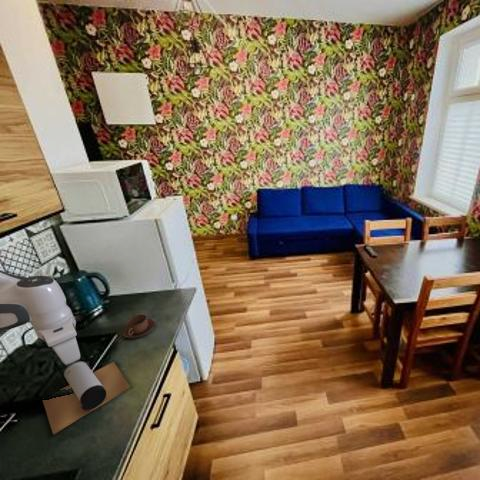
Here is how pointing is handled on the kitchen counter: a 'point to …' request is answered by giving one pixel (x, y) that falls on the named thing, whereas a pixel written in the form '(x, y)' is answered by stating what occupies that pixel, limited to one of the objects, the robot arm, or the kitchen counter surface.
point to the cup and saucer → (138, 326)
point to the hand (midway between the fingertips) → (71, 357)
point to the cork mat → (70, 407)
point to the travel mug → (85, 385)
